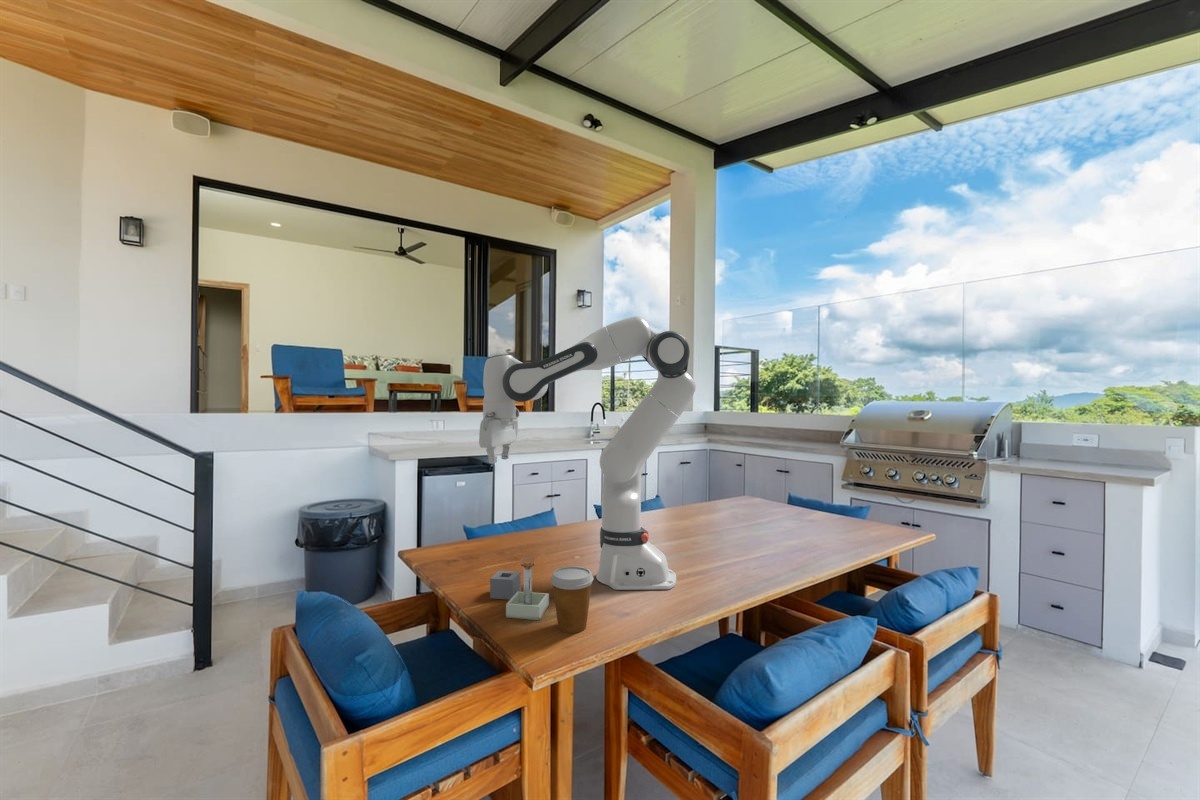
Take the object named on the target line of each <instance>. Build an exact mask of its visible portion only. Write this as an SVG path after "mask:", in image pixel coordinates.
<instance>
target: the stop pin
mask: <svg viewBox="0 0 1200 800" xmlns="http://www.w3.org/2000/svg"><path fill="white" fill-rule="evenodd" d="M535 561H536V560H535V557H534V556H532V555H531V556H522V557H521V558H520V566H521V567H523V592H524V605H532V592H533V567H534V566H535V564H536V563H535Z"/></svg>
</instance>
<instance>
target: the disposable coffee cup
mask: <svg viewBox="0 0 1200 800" xmlns="http://www.w3.org/2000/svg"><path fill="white" fill-rule="evenodd" d="M594 579H595V578H594V576H593V573H592V570H590V569H589V568H587V567H583V566H576V565H575V566H574V565H571V566H563V567H559V568H556V569H555V570H553V572H552V576H551V577H550V582H551V584H552V587H553V594H554V596H553V597H554V605H555V614H556V621H557V628H558V629H559V631H560V632H563V633H566V634H567V633H568V634H571V633H572V634H576V633H580V632H583V631H584V630H585V629H587V623H588V617H589V615H588V614H589V609H590V607H589V605H590V600H591V599H590V597H591V591H592V590H591V589H592V584H593V581H594ZM582 630H583V631H582Z"/></svg>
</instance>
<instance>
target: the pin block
mask: <svg viewBox="0 0 1200 800" xmlns="http://www.w3.org/2000/svg"><path fill="white" fill-rule="evenodd" d="M521 574H522V573H521V571H515V570H514V571H511V570H498V571H496V573H494V575H492V576H491V577H490V579H489V598H490V599H496V600H497V599H498V600H508V601H509V600H510V599H511V598H512V597H513V596H514V595H515V594H516V593H517V591H519V592H522V590H521V585H522V584H521V582H522V581H521V580H522V579H521Z"/></svg>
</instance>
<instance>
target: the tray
mask: <svg viewBox="0 0 1200 800" xmlns="http://www.w3.org/2000/svg"><path fill="white" fill-rule="evenodd" d="M548 607H550V593H548V592H547V593H546V592H534V591H532V605H524V591H520V592H519V591H517V593H516V594H515V595H514V596H513V597H512V598H511V599H510V600H508V601H507V602H506V604H505V618H510V619H511V618H512V619H521V620H522V619H523V620H534V621H536V620H537V621H540V620H541V618H542V617H543V615H544V614H545V612H546V610H547V609H548Z"/></svg>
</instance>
